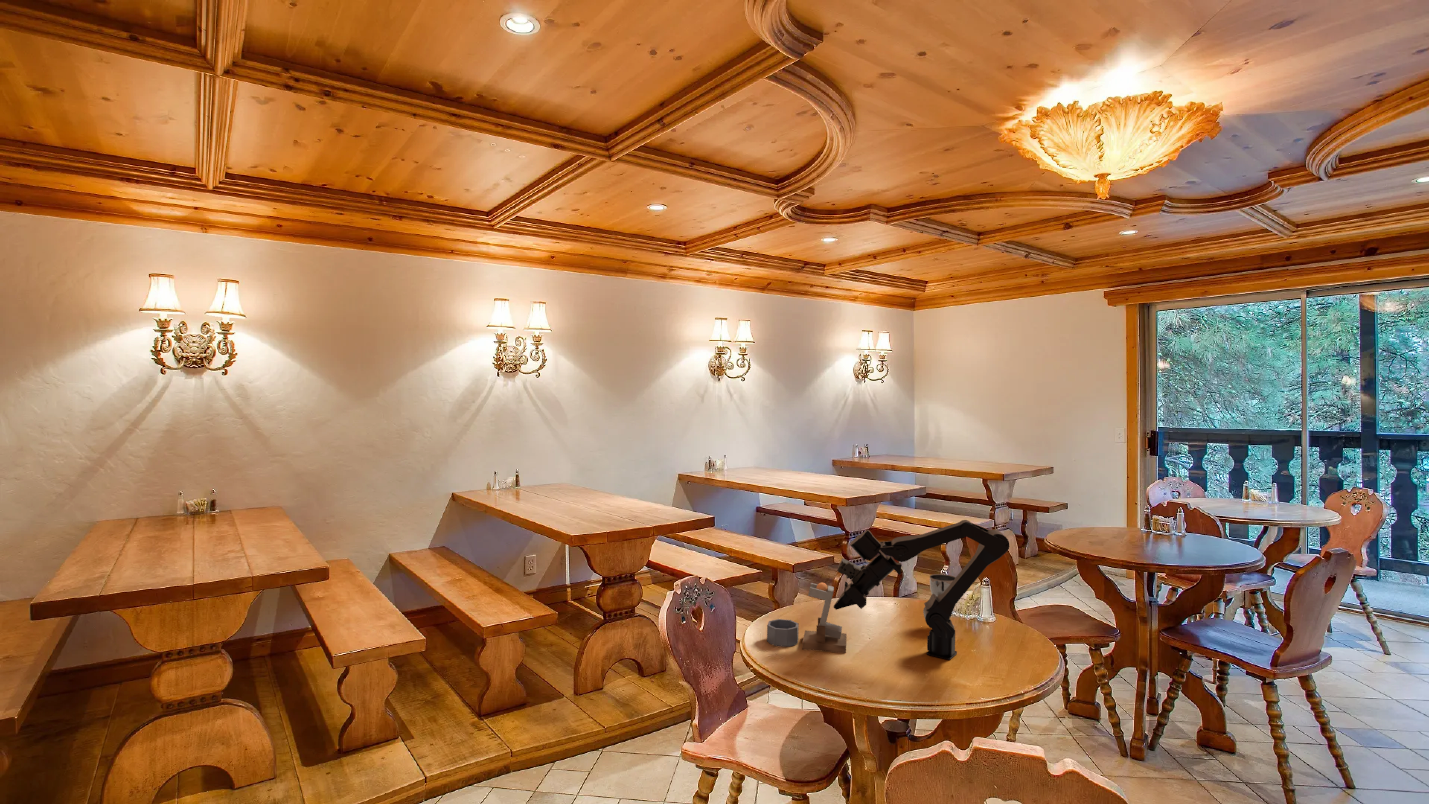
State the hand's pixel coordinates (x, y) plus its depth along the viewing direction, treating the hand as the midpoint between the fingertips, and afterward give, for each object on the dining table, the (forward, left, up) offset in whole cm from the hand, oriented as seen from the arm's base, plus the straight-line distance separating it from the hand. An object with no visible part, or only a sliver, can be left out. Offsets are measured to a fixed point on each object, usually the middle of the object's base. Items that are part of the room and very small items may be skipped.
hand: (834, 608), depth 203 cm
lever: (+4, +2, -7) cm, 8 cm away
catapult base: (+3, +1, -11) cm, 11 cm away
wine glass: (-19, -36, -11) cm, 42 cm away
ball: (+3, +1, +5) cm, 6 cm away
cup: (+13, +6, -11) cm, 18 cm away
